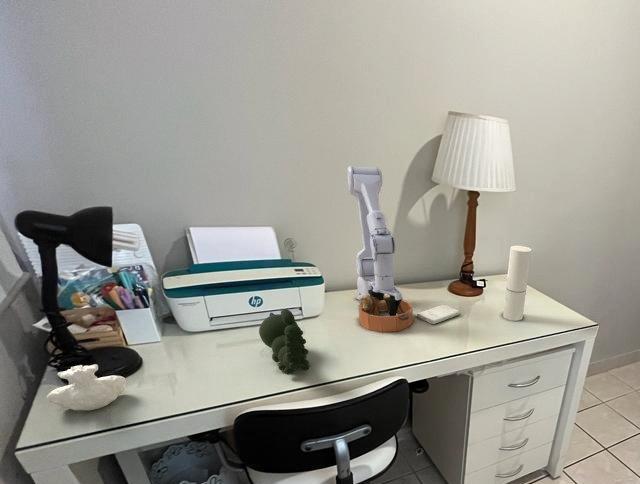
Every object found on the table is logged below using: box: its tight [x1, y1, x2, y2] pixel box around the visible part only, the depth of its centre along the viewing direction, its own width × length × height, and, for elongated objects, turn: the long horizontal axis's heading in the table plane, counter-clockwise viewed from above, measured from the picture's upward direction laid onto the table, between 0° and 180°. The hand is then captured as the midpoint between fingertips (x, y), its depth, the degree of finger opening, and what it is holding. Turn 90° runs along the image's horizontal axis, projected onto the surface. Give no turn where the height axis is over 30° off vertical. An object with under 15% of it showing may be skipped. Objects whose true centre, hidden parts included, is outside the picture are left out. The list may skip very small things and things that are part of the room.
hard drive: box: [416, 304, 460, 325], centre depth 144 cm, size 2×8×12 cm
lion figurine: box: [359, 295, 405, 316], centre depth 134 cm, size 15×5×9 cm, turn 120°
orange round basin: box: [357, 296, 414, 333], centre depth 136 cm, size 20×17×5 cm
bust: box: [46, 363, 127, 411], centre depth 85 cm, size 12×8×11 cm
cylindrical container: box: [502, 245, 532, 322], centre depth 145 cm, size 7×7×25 cm
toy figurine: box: [258, 308, 311, 376], centre depth 105 cm, size 9×19×25 cm
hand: (386, 313), depth 136 cm, fingers open, 6 cm apart
